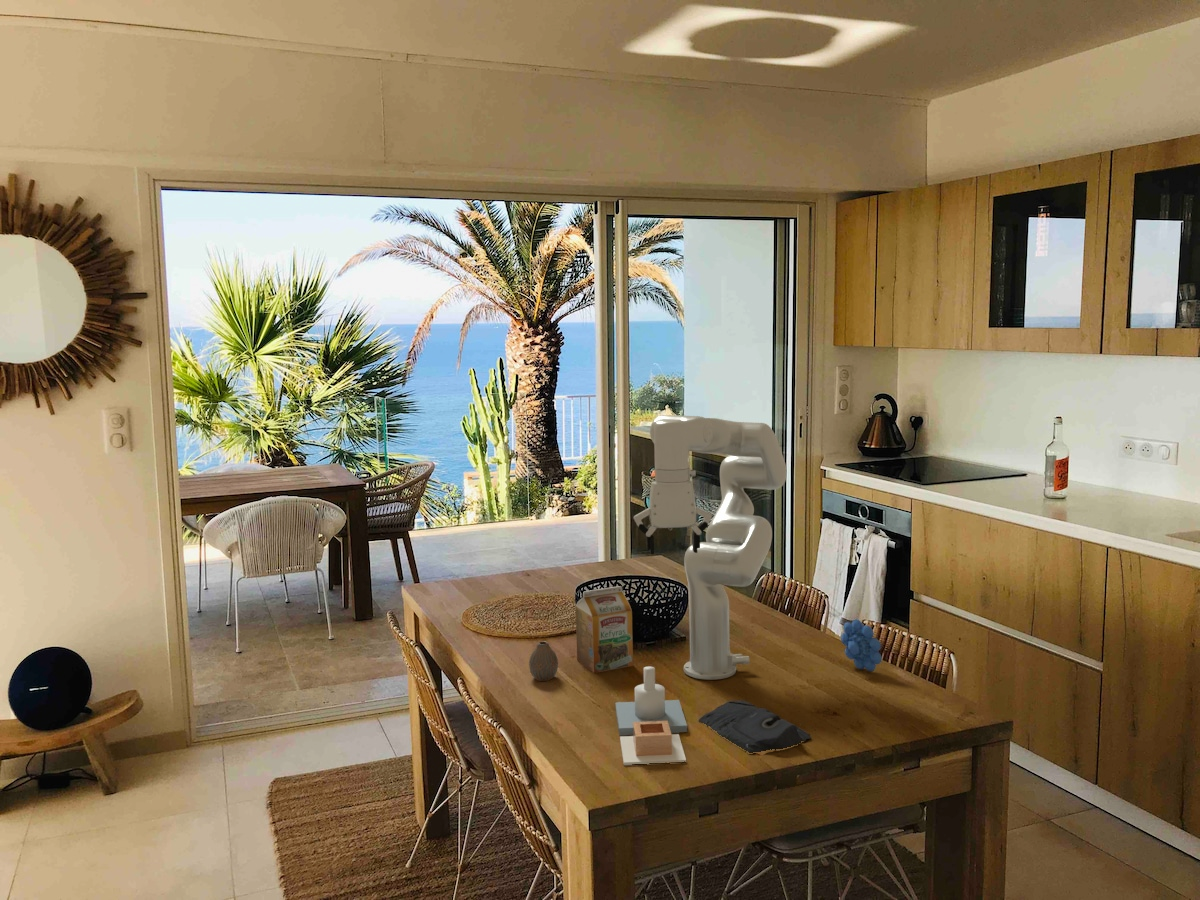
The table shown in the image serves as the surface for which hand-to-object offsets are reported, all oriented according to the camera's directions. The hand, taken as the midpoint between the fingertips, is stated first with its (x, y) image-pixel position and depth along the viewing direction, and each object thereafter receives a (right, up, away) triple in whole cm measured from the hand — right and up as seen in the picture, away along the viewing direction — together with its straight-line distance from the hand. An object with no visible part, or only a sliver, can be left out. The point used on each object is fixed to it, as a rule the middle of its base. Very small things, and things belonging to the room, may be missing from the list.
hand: (673, 552), depth 220 cm
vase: (-30, -32, +18) cm, 47 cm away
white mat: (-6, -37, -24) cm, 44 cm away
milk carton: (-15, -31, +28) cm, 44 cm away
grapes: (+46, -30, +18) cm, 58 cm away
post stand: (-6, -35, -9) cm, 36 cm away
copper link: (-6, -36, -24) cm, 44 cm away
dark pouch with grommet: (+15, -36, -15) cm, 42 cm away
